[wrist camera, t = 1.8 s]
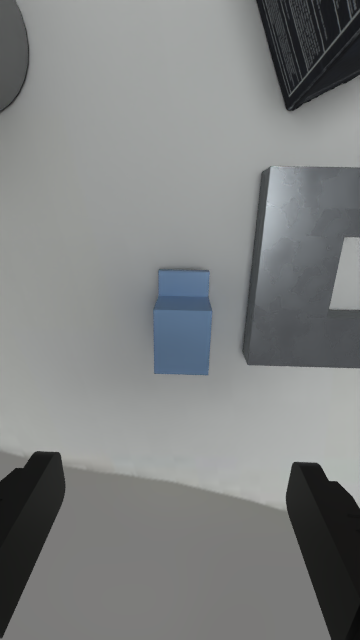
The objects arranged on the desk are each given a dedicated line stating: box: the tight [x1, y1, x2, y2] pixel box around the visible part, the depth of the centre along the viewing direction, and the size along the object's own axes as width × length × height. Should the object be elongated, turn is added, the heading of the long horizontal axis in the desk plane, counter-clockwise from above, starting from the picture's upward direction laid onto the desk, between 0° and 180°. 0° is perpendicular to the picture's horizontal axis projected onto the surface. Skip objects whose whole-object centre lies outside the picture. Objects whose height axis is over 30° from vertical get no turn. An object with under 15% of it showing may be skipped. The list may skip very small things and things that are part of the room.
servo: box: [153, 269, 212, 375], centre depth 23 cm, size 9×4×7 cm, turn 179°
